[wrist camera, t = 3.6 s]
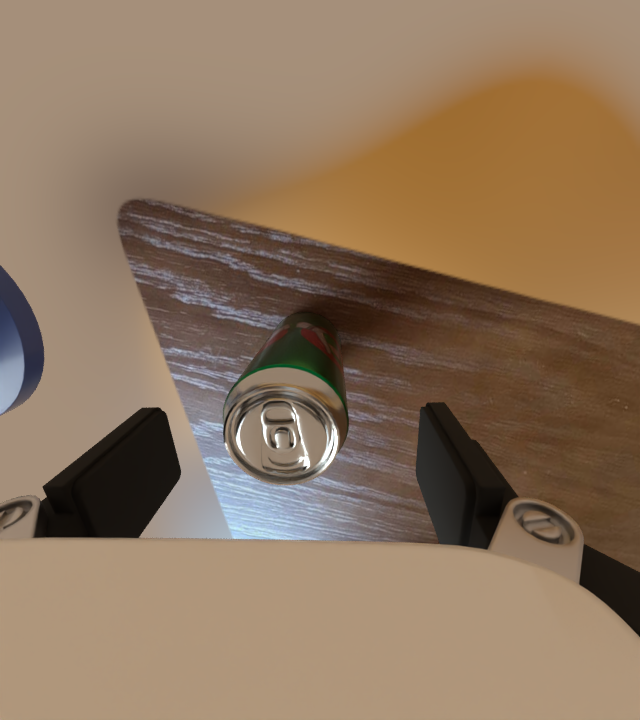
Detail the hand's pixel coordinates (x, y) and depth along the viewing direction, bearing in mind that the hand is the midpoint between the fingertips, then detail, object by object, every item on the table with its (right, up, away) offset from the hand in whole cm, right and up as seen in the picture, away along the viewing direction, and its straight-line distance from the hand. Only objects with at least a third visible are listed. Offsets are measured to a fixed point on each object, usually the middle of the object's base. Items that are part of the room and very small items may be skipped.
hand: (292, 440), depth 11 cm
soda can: (0, +4, +12) cm, 12 cm away
